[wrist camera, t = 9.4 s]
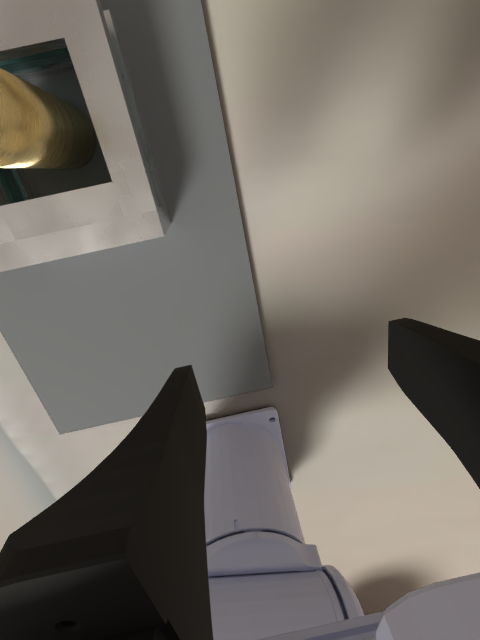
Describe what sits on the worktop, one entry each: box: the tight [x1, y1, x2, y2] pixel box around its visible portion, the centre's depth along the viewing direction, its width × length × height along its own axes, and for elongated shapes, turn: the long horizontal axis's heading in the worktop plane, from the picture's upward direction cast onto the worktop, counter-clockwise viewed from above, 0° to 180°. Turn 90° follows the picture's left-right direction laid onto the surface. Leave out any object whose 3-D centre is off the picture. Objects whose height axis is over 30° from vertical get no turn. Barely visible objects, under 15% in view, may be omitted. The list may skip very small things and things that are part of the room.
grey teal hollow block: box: [0, 0, 171, 272], centre depth 14 cm, size 13×8×4 cm, turn 11°
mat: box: [0, 0, 273, 434], centre depth 19 cm, size 26×16×1 cm, turn 11°
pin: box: [0, 68, 96, 169], centre depth 12 cm, size 3×3×10 cm
